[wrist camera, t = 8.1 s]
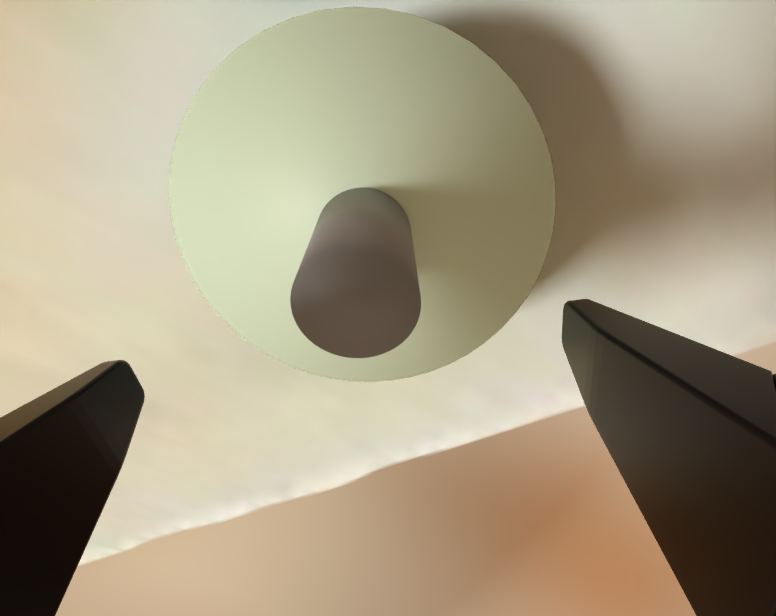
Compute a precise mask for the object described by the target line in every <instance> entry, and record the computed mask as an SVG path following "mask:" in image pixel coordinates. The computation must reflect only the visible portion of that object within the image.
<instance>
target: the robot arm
mask: <svg viewBox="0 0 776 616" xmlns="http://www.w3.org/2000/svg"><path fill="white" fill-rule="evenodd" d="M562 344H563V348H564V351H565V353H566V356H567V359H568V361H569V364H570V366H571V369H572V372H573V374H574V377H575V379H576V382H577V385H578V387H579V390H580V393H581V395H582V398H583V400H584V403H585V405H586V408H587V410H588V413H589V415H590V417H591V419H592V421H593V423H594V424H595V426H596V428H597V430H598V432H599V434H600V436H601V438H602V439H603V441H604V443H605V445H606V447H607V449H608V451H609V453H610V454H611V456H612V458H613V460H614V462H615V463H616V466H617V467H618V469H619V471H620V473H621V475H622V477H623V479H624V480H625V483H626V484H627V486H628V488H629V490H630V492H631V494H632V496H633V498H634V499H635V501H636V503H637V505H638V507H639V509H640V510H641V512H642V514H643V516H644V518H645V520H646V522H647V524H648V525H649V527H650V529H651V531H652V533H653V535H654V537H655V539H656V541H657V542H658V544H659V546H660V548H661V550H662V552H663V554H664V555H665V557H666V559H667V561H668V563H669V565H670V567H671V569H672V571H673V572H674V574H675V576H676V578H677V580H678V582H679V584H680V585H681V587H682V589H683V591H684V593H685V595H686V597H687V599H688V600H689V602H690V604H691V606H692V608H693V610H694V612H695V614H696V615H697V616H776V374H773V375H772V372H771V371H769V370H766V369H764V368H762V367H759V366H756V365H754V364H751V363H749V362H746V361H744V360H741V359H738V358H736V357H734V356H731V355H728V354H726V353H723V352H721V351H718V350H716V349H713V348H711V347H708V346H706V345H703V344H701V343H698V342H695V341H693V340H690V339H688V338H685V337H683V336H680V335H678V334H675V333H673V332H670V331H668V330H665V329H662V328H660V327H657V326H655V325H652V324H650V323H647V322H645V321H642V320H640V319H637V318H635V317H632V316H629V315H627V314H624V313H622V312H619V311H617V310H614V309H612V308H609V307H607V306H604V305H602V304H599V303H597V302H594V301H591V300H589V299H581V300H573V301H568V302H566V303H565V305H564V309H563V325H562ZM144 397H145V396H144V390H143V388H142V386H141V384H140V383H139V381H138V379H137V377H136V375H135V373H134V372H133V370H132V368H131V366H130V365H129V364H128V363H127V362H126V361H124V360H116V361H108V362H104V363H101V364H99V365H97V366H95V367H94V368H92V369H90V370H88V371H86V372H84V373H82V374H81V375H79V376H77V377H75V378H73V379H71V380H70V381H68V382H66V383H64V384H62V385H60V386H58V387H57V388H55V389H53V390H51V391H49V392H47V393H45V394H44V395H42V396H40V397H38V398H36V399H34V400H32V401H31V402H29V403H27V404H25V405H23V406H21V407H19V408H18V409H16V410H14V411H12V412H10V413H8V414H6V415H5V416H3V417H1V418H0V616H55V615H56V612H57V610H58V608H59V606H60V603H61V601H62V599H63V597H64V595H65V592H66V590H67V588H68V586H69V584H70V581H71V579H72V577H73V574H74V572H75V570H76V568H77V566H78V564H79V561H80V559H81V557H82V555H83V552H84V550H85V548H86V546H87V544H88V541H89V539H90V537H91V535H92V532H93V530H94V528H95V526H96V524H97V521H98V519H99V517H100V515H101V513H102V510H103V508H104V506H105V504H106V501H107V499H108V497H109V495H110V493H111V490H112V488H113V486H114V484H115V481H116V479H117V477H118V475H119V472H120V470H121V468H122V465H123V462H124V460H125V457H126V454H127V451H128V448H129V445H130V442H131V439H132V436H133V433H134V430H135V427H136V424H137V421H138V418H139V415H140V412H141V409H142V406H143V403H144Z"/></svg>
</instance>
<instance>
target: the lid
mask: <svg viewBox="0 0 776 616" xmlns="http://www.w3.org/2000/svg"><path fill="white" fill-rule="evenodd" d="M169 200H170V215H171V219H172V224H173V229H174V234H175V239H176V242H177V244H178V247H179V250H180V253H181V256H182V259H183V261H184V264H185V266H186V268H187V270H188V272H189V274H190V276H191V278H192V280H193V282H194V283H195V285H196V286H197V288H198V289H199V291H200V292H201V294H202V296H203V297H204V299H205V300H206V302H207V303H208V304H209V305H210V306H211V308H212V309H213V310H214V311H215V312H216V314H217V315H218V316H219V317H220V318H221V319H222V320H223V321H224V322H225V323H226V324H227V325H228V326H229V327H230V328H231V329H232V330H233V331H234V332H235V333H236V334H238V335H239V336H240V337H242V338H243V339H244V340H246V341H247V342H248V343H249V344H251V345H252V346H253V347H255V348H257V349H258V350H260V351H262V352H263V353H265V354H266V355H268V356H270V357H271V358H273V359H276V360H278V361H280V362H282V363H284V364H286V365H288V366H290V367H293V368H296V369H299V370H302V371H304V372H307V373H310V374H314V375H318V376H322V377H327V378H331V379H338V380H346V381H361V382H376V381H390V380H397V379H402V378H408V377H413V376H416V375H420V374H423V373H427V372H430V371H433V370H436V369H438V368H441V367H443V366H446V365H448V364H450V363H452V362H454V361H456V360H458V359H460V358H462V357H463V356H465V355H467V354H469V353H470V352H472V351H473V350H475V349H476V348H478V347H479V346H481V345H482V344H483V343H485V342H486V341H487V340H488V339H490V338H491V337H492V336H493V335H494V334H495V333H497V332H498V331H499V330H500V329H501V328H502V327H503V326H504V325H505V324H506V323H507V322H508V320H509V319H510V318H511V317H512V316H513V315H514V314H515V313H516V311H517V310H518V309H519V307H520V306H521V304H522V303H523V302H524V300H525V299H526V298H527V296H528V295H529V293H530V291H531V289H532V287H533V285H534V284H535V282H536V280H537V278H538V276H539V274H540V272H541V269H542V266H543V264H544V261H545V259H546V256H547V254H548V249H549V245H550V241H551V237H552V233H553V227H554V218H555V209H556V199H555V179H554V173H553V167H552V161H551V156H550V152H549V149H548V146H547V143H546V140H545V137H544V134H543V131H542V128H541V126H540V124H539V122H538V120H537V118H536V116H535V114H534V112H533V110H532V108H531V106H530V104H529V103H528V101H527V100H526V99H525V97H524V96H523V94H522V93H521V91H520V90H519V88H518V87H517V85H516V84H515V82H514V81H513V80H512V79H511V78H510V77H509V76H508V75H507V74H506V73H505V72H504V71H503V69H502V68H501V67H500V66H499V65H498V64H497V63H496V62H495V61H494V60H493V59H492V58H490V57H489V56H488V55H487V54H485V53H484V52H483V51H482V50H480V49H479V48H478V47H477V46H475V45H474V44H473V43H472V42H470V41H468V40H467V39H465V38H463V37H461V36H460V35H458V34H456V33H454V32H453V31H451V30H449V29H448V28H446V27H444V26H441V25H439V24H436V23H434V22H431V21H428V20H426V19H423V18H421V17H418V16H415V15H411V14H407V13H402V12H397V11H393V10H388V9H381V8H364V7H347V8H337V9H327V10H320V11H316V12H312V13H309V14H305V15H301V16H297V17H294V18H291V19H288V20H286V21H284V22H282V23H279V24H277V25H275V26H273V27H270V28H268V29H266V30H264V31H262V32H261V33H259V34H258V35H256V36H255V37H253V38H252V39H250V40H249V41H247V42H245V43H244V44H242V45H241V46H239V47H238V48H237V49H236V50H235V51H234V52H233V53H232V54H230V55H229V56H228V57H227V58H226V59H225V60H224V61H223V62H222V63H221V64H219V65H218V66H217V67H216V69H215V70H214V71H213V72H212V74H211V75H210V76H209V78H208V79H207V80H206V81H205V83H204V84H203V85H202V86H201V88H200V89H199V91H198V92H197V94H196V96H195V98H194V99H193V101H192V103H191V105H190V106H189V108H188V110H187V112H186V114H185V116H184V119H183V122H182V124H181V127H180V129H179V132H178V135H177V137H176V141H175V146H174V150H173V155H172V160H171V164H170V179H169Z"/></svg>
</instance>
